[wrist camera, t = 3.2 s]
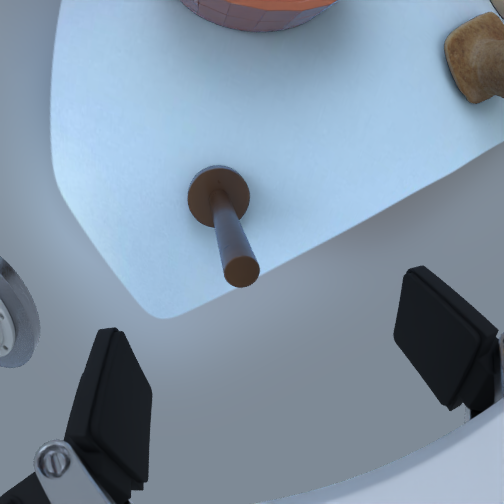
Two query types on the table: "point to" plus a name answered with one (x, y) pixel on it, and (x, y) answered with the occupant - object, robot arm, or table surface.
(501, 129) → the table surface
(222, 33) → the table surface
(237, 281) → the brown disc-based tamper
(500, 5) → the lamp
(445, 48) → the stone cup
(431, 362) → the robot arm
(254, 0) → the bowl
